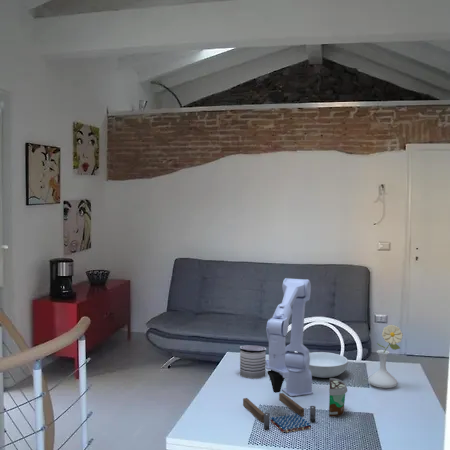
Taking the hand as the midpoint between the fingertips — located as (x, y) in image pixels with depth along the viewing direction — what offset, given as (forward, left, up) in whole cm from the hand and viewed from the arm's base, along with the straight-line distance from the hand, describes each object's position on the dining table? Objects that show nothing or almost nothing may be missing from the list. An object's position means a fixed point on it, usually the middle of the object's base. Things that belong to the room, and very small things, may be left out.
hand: (276, 391), depth 183 cm
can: (-9, -41, -8) cm, 43 cm away
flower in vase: (-53, -10, -8) cm, 54 cm away
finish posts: (0, +10, -8) cm, 13 cm away
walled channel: (0, -3, -8) cm, 8 cm away
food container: (-21, +6, -8) cm, 23 cm away
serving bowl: (-37, -31, -8) cm, 49 cm away
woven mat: (0, +10, -8) cm, 13 cm away
